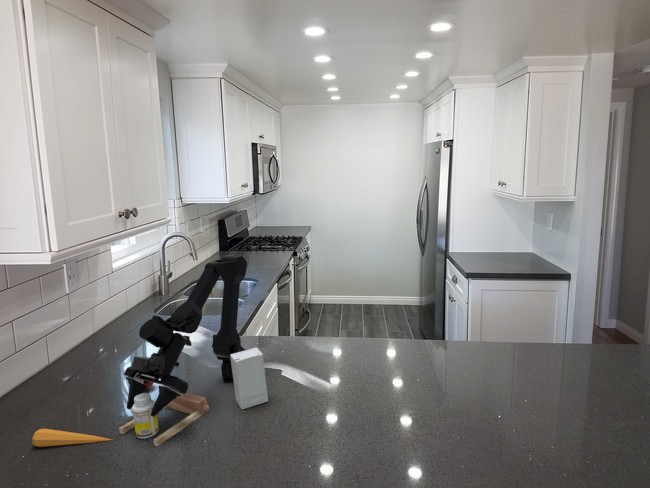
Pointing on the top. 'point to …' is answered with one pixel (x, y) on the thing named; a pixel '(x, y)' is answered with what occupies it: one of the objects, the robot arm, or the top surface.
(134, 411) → the supplement bottle
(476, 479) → the top surface
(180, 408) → the rail track
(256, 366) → the skincare box
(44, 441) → the carrot
